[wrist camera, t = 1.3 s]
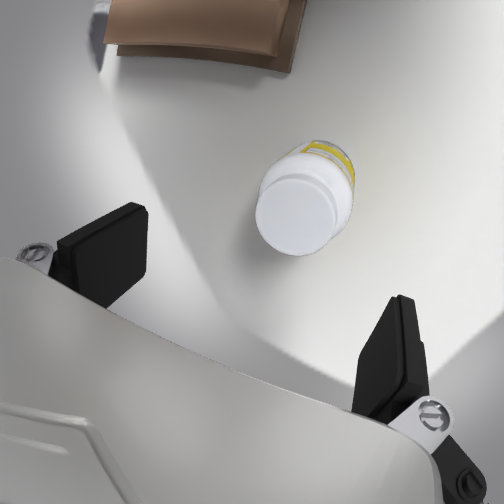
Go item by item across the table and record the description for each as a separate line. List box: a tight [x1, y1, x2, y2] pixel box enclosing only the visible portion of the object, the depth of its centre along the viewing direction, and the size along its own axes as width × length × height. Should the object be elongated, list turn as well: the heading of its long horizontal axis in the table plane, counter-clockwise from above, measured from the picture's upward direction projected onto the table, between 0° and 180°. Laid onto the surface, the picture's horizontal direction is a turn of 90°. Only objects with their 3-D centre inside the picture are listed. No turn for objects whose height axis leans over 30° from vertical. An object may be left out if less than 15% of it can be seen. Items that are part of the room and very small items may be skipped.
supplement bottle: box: [255, 140, 355, 256], centre depth 19 cm, size 5×5×10 cm
